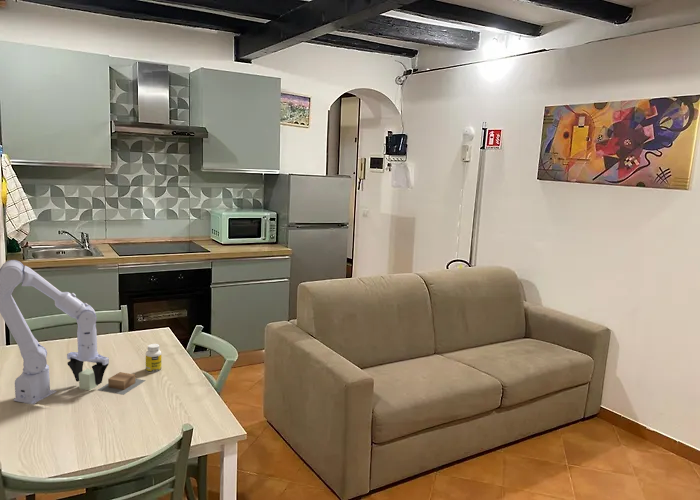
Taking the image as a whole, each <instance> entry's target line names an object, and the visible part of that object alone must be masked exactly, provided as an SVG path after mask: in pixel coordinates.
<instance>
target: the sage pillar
mask: <svg viewBox="0 0 700 500" xmlns="http://www.w3.org/2000/svg"><path fill="white" fill-rule="evenodd" d="M78 383H79V384H78V385H79V386H78V387H79V390H86V391H92V390H93V389H95V388H96V387H99V385H96V384H95V375H94V371H93V369H92V368H91V369H90V368H86V369H84V370H83V371H82V372H80V373H79V381H78Z"/></svg>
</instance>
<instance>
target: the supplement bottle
mask: <svg viewBox="0 0 700 500" xmlns="http://www.w3.org/2000/svg"><path fill="white" fill-rule="evenodd" d="M145 371H146V373H150V374H151V373H152V374H153V373H158V372H160V371H162V351H161V349H160V344H158V343H151V344H148V345H147V351H146V352H145Z"/></svg>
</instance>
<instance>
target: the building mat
mask: <svg viewBox="0 0 700 500" xmlns="http://www.w3.org/2000/svg"><path fill="white" fill-rule="evenodd" d="M144 382H146V380H145V379H141V378H135V384H133V385H131V386H130V387H128V388H127V389H125V390H121V389H116V388H110V387H108V383H107V384H105V385H103V386H102V387H99V388H98V389H97V391H100V392H105V393H111V394H118V395H123V396H124V395H126V394H127V393H129V392H130V391H132V390H133V389H135V388H136V387H138V386H140V385H141V384H143V383H144Z"/></svg>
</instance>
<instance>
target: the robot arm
mask: <svg viewBox="0 0 700 500" xmlns="http://www.w3.org/2000/svg"><path fill="white" fill-rule="evenodd" d="M20 284H21V287H33V288H35V289H36V290H38V291H39V292H41V293H42V294H44V295H45V296H47V297H49V298H50V299H52V300H53V301H54V306H55V307H56V309H59V310H60V311H62V312H63V313H65V314H66V315H68V316H69V317H70V318H71V319H75V321H76V323H77V330H76V337H77V338H76V339H77V351H70V352H68V353H67V354H66V359H67V360H68V362H67V365H68V367H69V368H70V370H71V372H72V373H73V376H74V379H75V381H76V382H78V383H79V373H80V372H82V371H84V370H83V368H84V362H88V363H95V364H93V365H92V366H91V369H92V370H93V371H94V375H95V384H96V385H98V386H99V385H101V384H102V383H103V378H104V375H105V372H106V370H107V368H108V366H109V363H110V360H109V359H110V358H109V357H106V356H104V355H101V354H99V352H98V337H97V332H98V331H97V320H98V317H97V314H96V313H97V312H96V311H95V309H94V308H93V307H92V306H91V304H88V303H87V302H83V301H82V300H80V299H79V298H78V297H77V295H76V294H75V293H74V292H72V293H71V292H69V291H61V290H59V289H58V288H57V287H55V286H54V285H53V284H52V283H50V282H49V281H48V280H46V279H45V278H44V277H43V276H41V275H40V274H39V273H38V272H36V271H35V270H33V269H32V268H31V267H29V266H27V265H24V264H23V263H22V262H21V261H20V260H17V259H10V260H7V261H5V262H4V263H3V264H2V265H1V266H0V315H1V317H2V318H3V320H4V323H5V324H6V326H7V327H8V330H9V331H10V333H11V335H12V337H13V339H14V340H15V342H16V344H17V346H18V349H19V353H20V356H21V357H22V360H23V368H22V372H21V374H20V375H18V377H16V378H15V380H14V391H15V392H14V393H15V394H14V395H15V396H14V397H15V398H13V401H14V402H18V403H23V404H24V403H25V404H30V405H36V404H37V402H40V401H42V400H44V399H46V398H48V397H49V396H51V395H53V394H55V393H56V392H58V391H57V390H55V389H51V383H50V382H51V381H50V379H51V378H50V365H49V364H47V363H48V360H47V357H48V350H47V348H46V347H44V346H43V345H42V344H40V343H39V341H38V340H37V338H36V337H35V336H34V334H33V333H32V331H31V329H30V326H29V325H28V323H27V321H26V319H25V317H24V315H23V314H22V312H21V310H20V309H19V306H18V304H17V303H16V301H15V299H14V297H13V295H12V294H13V292H14V290H15V288H16V287H18V286H19V285H20Z"/></svg>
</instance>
